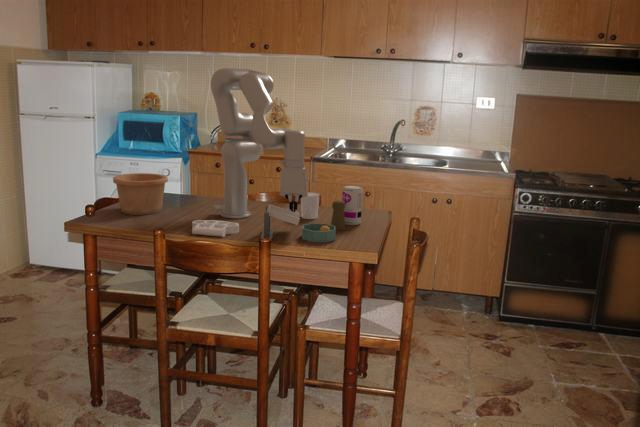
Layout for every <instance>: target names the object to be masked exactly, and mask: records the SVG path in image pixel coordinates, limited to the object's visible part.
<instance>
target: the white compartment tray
mask: <svg viewBox="0 0 640 427" xmlns="http://www.w3.org/2000/svg"><path fill="white" fill-rule="evenodd" d="M191 223H192V224H191V228H192V230H191V234H192V235H194V236H195V235H198V236H208V237H221V238H224V237H225V236H226V234H227V235H235V233H236V234H239V233H240V232H239V231H240V224H239V223H238V222H230V221H227V220H216V219H210V220H208V219H207V220H205V219H197V220H192V222H191ZM238 232H239V233H238Z"/></svg>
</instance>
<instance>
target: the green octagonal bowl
mask: <svg viewBox="0 0 640 427" xmlns="http://www.w3.org/2000/svg"><path fill="white" fill-rule="evenodd" d="M322 226H328V227H329V228H330V230H329V231H319V230H320V228H321V227H322ZM301 232H302V233H301V239H302V240H303V241H307V242H310V243H330V242H333V241H336V239H337V238H336V236H337V235H336V234H337V230H336V227H335V226H333V225H331V224H328V223H325V222H324V223H318V222H311V223H305V224H302V227H301Z"/></svg>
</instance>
